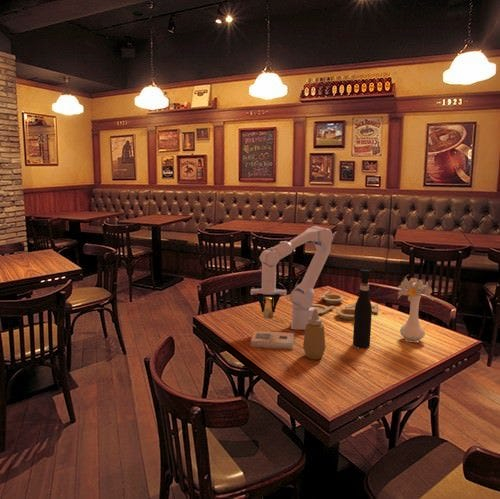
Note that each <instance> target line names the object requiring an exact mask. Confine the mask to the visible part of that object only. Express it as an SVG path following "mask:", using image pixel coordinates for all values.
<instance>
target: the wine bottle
mask: <svg viewBox="0 0 500 499" xmlns="http://www.w3.org/2000/svg"><path fill="white" fill-rule="evenodd" d="M371 273H372V272H371V269H369V268H361V269H359V279H361V282H360V285H359V290H358V298H357V300H356V306H355V312H354V320H353V333H352V334H353V335H352V346H353V345H354V346H353V347H355V346H356V347H355V348H357V347H359V348H358V349H361V348H365V349H368V348H367V347H369V346H370V347H371V335H372V334H371V332H372V314H373V313H372V307H371V304H372V303H371V302H372V301H371V298H370V288H369V287H370V285H369V280H371V275H372V274H371ZM370 347H369V348H370Z"/></svg>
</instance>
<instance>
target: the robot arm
mask: <svg viewBox="0 0 500 499" xmlns="http://www.w3.org/2000/svg"><path fill="white" fill-rule="evenodd" d="M333 239H334V235H333V232H332V230H331V229H330V228H326V227H322V226H318V225H313V226H311V227H308V228H307V229H305V231H303V232H302V233H300V234H299V235H297V236H295V237H294V238H293V239H291V240H289V241H288V240H284V241H283V240H281V241H279V244H276V245H275V246H271V247H270V248H269V249H264V250H263V251H262V252H261V253H260V255H259V257H258V259H259V261H260V262H261V288H251V289H250V295H252V296H253V295H256V298H257V302H259V305H260V309H261V312H262V313H264V297H265V295H267V296H268V295H269V296H273V314H274V313H275V312H276V308H277V304H278V302H279V300H280V297H281V296H284V297H286V296H287V289H280V288H276V287H277V286H276V284H277V265H278V264H279V261H280V260H283V258H285V257H287V256H289V255H290V254H292V253H293V250H294V249H295V248H297V247H300V246H302V245H303V244H305V243H308V242H312V244H314V246H315V250H316V251H315V253H314V255H313V257H312V259H311V261H310V264H309V265H308V267H307V269H306V272H305V274H304V276H303V278H302V281H301V282H300V283H298V284H297V285H296V286H295V287H294V289H292V290H291V292H290V294H289V300H290V302H291V304H292V305H291V306H292V309H291V310H292V316H291V318H292V321H291V324H290V329H291V330H302V331H305V328H306V325H307V324H308V323H309V318H310V317H312V315H313V311H314V308H313V307H311V305H312V304H314V303H313V302H314V297H315V291H314V288H315V285H316V283H317V280H318V278H319V277H320V275H321V272H322V270H323V268H324V265H325V264H326V262H327V259H328V257H329V255H330V253H331V250H332V249H331V248H332V242H333Z"/></svg>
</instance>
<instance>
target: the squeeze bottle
mask: <svg viewBox="0 0 500 499" xmlns="http://www.w3.org/2000/svg"><path fill="white" fill-rule="evenodd" d="M322 323H323V319H322V318H321V317H320V316H319V314H318V311H317V309H314V311H313V315H312V317H310V318H309V323H308V324H307V325H306V328H305V330H304V336H303V346H302V347H303V351H304V354H305V356H306V358H308V359H310V360H320V359H322V358H323V355H324V354H325V352H326V351H325V350H326V346H327V345H326V335H325V333H326V331H325V326H324V325H323V324H322Z"/></svg>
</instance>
